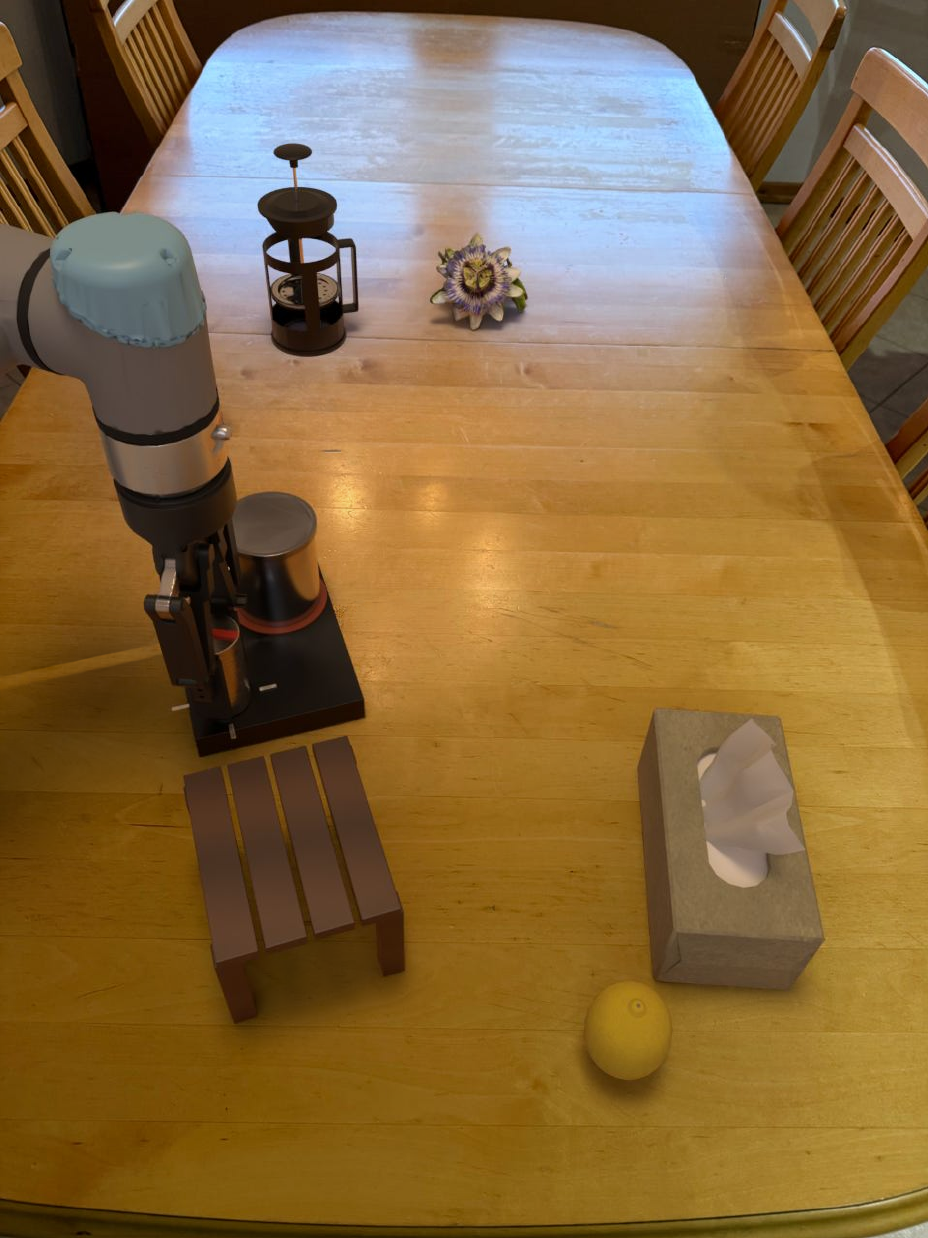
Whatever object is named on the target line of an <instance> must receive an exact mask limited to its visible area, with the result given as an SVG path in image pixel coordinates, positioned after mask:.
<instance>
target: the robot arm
mask: <svg viewBox="0 0 928 1238" xmlns="http://www.w3.org/2000/svg"><path fill="white" fill-rule="evenodd" d="M197 271H198V270H197V267H196V264H195V259H194V255H193V251H192V248H191V246H190V244H189V241H188V239H187V238H186V236H185V234H183V232H182V231H181V230H180V229H179V228H178V227H177V226H175V225H174V224H173V223H171V222H170V221H168V220H166V219H164V218H162V217H160V216H157V215H154V214H150V213H149V214H148V213H145V212H138V211H135V212H131V213H128V214H124V213H123V214H121V213H119V212H117V211H108V212H101V213H96V214H92V215H91V214H90V215H87V216H85V217H83V218H80V219H77V220H75V221H73V222H71V223H69V224H68V225H65V226H64V227H63V228H62V229H61V230H60V231H59V232H58V233H57V234H56V236H55V237H50V236H47V235H45V234H40V233H38V232H37V233H36V232H33V231H30V230H26V229H23V228H19V227H17V226H12V225H9V224H6V223H3V222H1V221H0V378H2V377H3V376H5V375H6V374H7V373H9V372H10V371H11V370H12V369H14V368H15V367H17V366H20V365H25V366H28V367H31V368H34V369H39V370H42V371H45V372H48V373H52V374H55V375H58V376H62V377H63V376H64V377H70V378H74V379H77V380H79V381H80V382H81V383H83V384H84V386H85V389H86V391H87V394H88V398H89V400H90V403H91V408H92V413H93V416H94V419H95V422H96V426H97V429H98V434H99V436H100V440H101V444H102V448H103V451H104V455H105V459H106V463H107V467H108V470H109V473H110V475H111V477H112V478H113V485H114V489H115V493H116V496H117V499H118V503H119V506H120V509H121V513H122V517H123V519H124V521H125V523H126V525H127V527H129V529H130V530H131V531H132V532H133V533H135V534H136V535H137V536H139V537H141V538H142V539H143V540H145V541H146V542H147V543H148V544H150V545H151V547H152V548H151V551H152V558H153V564H154V568H155V572H156V574H157V575H158V576H159V588H158V591H157V593H154V594H152V593H151V594H150V593H148V594H146V595H145V597H144V599H143V610H144V612H145V614H146V615H147V616H148V617H149V619H150V620H151V622H152V624H153V627H154V631H155V634H156V635H155V636H156V638H157V641H158V643H159V644H158V645H159V649H160V650H161V654H162V658H163V661H164V665H165V667H166V671H167V674H168V678H169V681H170V684H171V686H172V687H179V688H185V687H189V688H190V691H191V695H192V699H193V703H194V706H195V710H196V714H197V717H205V718H216V719H228V720H231V717H232V713H233V711H232V706H231V702H230V697H229V693H228V688H227V684H226V679H225V675H224V670H223V666H222V661H221V660H216V659H215V650H214V641H213V632H212V623H211V614H210V613H219V614H224V615H226V616H229V617H231V618H232V619H233V620H234V621H235V622H236V623H237V625H238V627H239V631H240V636H241V642H242V647H243V652H244V657H245V662H246V667H247V659H246V654H245V649H244V644H243V639H242V633H241V628H240V623H239V618H238V613H237V611H234V607H236V608H245V607H246V604H247V594H238V593H237V591H236V589H235V586H234V585H238V586H239V585H240V584H241V582H242V574H241V568H240V562H239V556H238V550H237V545H236V539H235V533H234V527H233V522H232V516H233V514H234V512H235V509H236V505H237V500H238V496H237V495H238V494H237V490H236V489H237V488H236V484H235V478H234V473H233V465H232V462H231V458H230V457H229V449H228V443H227V441H230V440H231V439H232V438H233V429H232V427H231V426H230V425H227V424H224V419H223V420H222V418H223V414H222V415H221V412H222V407H221V401H220V396H219V390H218V386H217V387H216V384H217V383H216V384H215V379H214V372H215V371H214V372H213V366H214V363H213V364H212V360H213V356H212V357H211V355H212V348H211V342H210V341H211V340H210V335H209V326H208V317H207V316H208V315H207V308H208V306H207V302H206V296H205V293H204V291H203V290H202V287H201V283H200V280H199V275H198V272H197ZM223 424H224V425H223ZM210 606H211V609H210Z"/></svg>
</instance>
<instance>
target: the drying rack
mask: <svg viewBox="0 0 928 1238" xmlns="http://www.w3.org/2000/svg"><path fill="white" fill-rule="evenodd" d="M307 747H308V746H306V745H301V746H298V747H294V748H290V749H289V748H288V749H285V750H282V751H277V752H273V753H270V754H269V758H270V763H271V767H272V772H273V776H274V780H275V783H276V784H275V785H276V787H277V790H278V795H279V800H280V804H281V808H282V811H283V816H284V820H285V824H286V829H287V833H288V836H289V837H288V838H289V840H290V844H291V848H292V852H293V853H292V854H293V857H294V861H295V865H296V869H297V873H298V878H299V881H300V885H301V890H302V893H303V898H304V902H305V906H306V910H307V914H308V918H309V922H310V926H311V930H312V934H313V938H314V940H315V941H319V940H323V939H326V938H329V937H333V936H337V935H340V934H343V933H347V932H350V931H354V930H355V929H356V921H355V916H354V913H353V909H352V905H351V901H350V898H349V894H348V892H347V888H346V885H345V881H344V877H343V873H342V869H341V866H340V863H339V859H338V855H337V853H336V852H337V851H336V848H335V844H334V841H333V838H332V834H331V830H330V827H329V822H328V819H327V816H326V812H325V809H324V806H323V801H322V798H321V794H320V790H319V786H318V783H317V780H316V776H315V772H314V769H313V765H312V762H311V758H310V755H309V751H308V748H307ZM311 748H312V749H311V750H312V753H313V758H314V761H315V764H316V767H317V771H318V775H319V778H320V782H321V786H322V790H323V793H324V797H325V801H326V804H327V807H328V811H329V815H330V818H331V822H332V825H333V828H334V833H335V836H336V840H337V843H338V846H339V850H340V853H341V857H342V860H343V864H344V868H345V871H346V875H347V879H348V882H349V885H350V889H351V893H352V896H353V900H354V903H355V906H356V911H357V914H358V918H359V921H360V925H361V927H363V928H364V927H367V926H370V925H373V924H374V925H375V940H376V955H377V960H378V964H379V967H380V970H381V971H380V972H381V974H382V977H383V978H387V977H389V976H392V975H395V974H399V973H402V972H405V971H406V963H405V962H406V958H405V957H406V955H405V952H406V951H405V949H406V947H405V910H404V907H403V904H402V901H401V897H400V895H399V892H398V890H397V889H396V885H395V883H394V880H393V876H392V873H391V870H390V867H389V863H388V860H387V857H386V854H385V851H384V848H383V845H382V841H381V838H380V835H379V832H378V828H377V825H376V821H375V818H374V816H373V813H372V810H371V807H370V803H369V799H368V797H367V793H366V790H365V787H364V784H363V780H362V777H361V775H360V772H359V769H358V762H357V757H356V755H355V752H354V749H353V746H352V745H351V742H350V740H349V736H348V735H343V736H338V737H334V738H331V739H327V740H321V741H317V742H314V743H312V744H311ZM226 769H227V773H228V777H229V782H230V787H231V791H232V795H233V802H234V806H235V807H234V808H235V812H236V815H237V816H236V817H237V821H238V825H239V830H240V836H241V839H242V844H243V849H244V854H245V858H246V863H247V868H248V873H249V878H250V883H251V887H252V892H253V896H254V902H255V906H256V907H255V908H256V911H257V916H258V921H259V925H260V930H261V935H262V936H261V937H262V940H263V945H264V949H265V953H266V955H267V956H269V955H272V954H276V953H279V952H283V951H286V950H289V949H294V948H296V947H300V946H303V945H306V944H309V937H308V932H307V928H306V924H305V920H304V916H303V911H302V907H301V903H300V900H299V896H298V892H297V887H296V883H295V879H294V874H293V871H292V865H291V862H290V857H289V853H288V850H287V846H286V842H285V837H284V832H283V828H282V824H281V820H280V815H279V813H278V808H277V804H276V799H275V796H274V792H273V787H272V783H271V780H270V775H269V771H268V767H267V761H266V758H265V756H264V755H260V756H257V757H254V758H253V757H252V758H249V759H244V760H240V761H237V762H236V761H235V762H233V763H229V764H228V763H227V765H226ZM182 778H183V783H184V786H183V787H182V789H183V794H184V801H185V806H186V809H187V812H188V817H189V818H190V825H191V831H192V836H193V842H194V848H195V853H196V860H197V866H198V872H199V878H200V882H201V883H200V884H201V887H202V894H203V900H204V906H205V911H206V916H207V917H206V918H207V923H208V928H209V935H210V940H211V944H210V945H209V947H210V953H211V959H212V964H213V969H214V972H215V975H216V977H217V980H218V983H219V985H220V988H221V991H222V994H223V997H224V1000H225V1002H226V1005H227V1008H228V1011H229V1013H230V1017H231V1019H232V1022H233V1024H237V1023H241V1022H243V1021H247V1020H249V1019H254V1018H256V1017H258V1011H257V1006H256V1002H255V1001H256V1000H255V995H254V992H253V990H252V985H251V983H250V979H249V975H248V972H247V969H246V966H245V963H246V962H249V961H253V960H256V959H260V958H261V952H260V949H259V943H258V938H257V933H256V928H255V924H254V919H253V915H252V910H251V909H252V908H251V905H250V899H249V895H248V894H249V893H248V889H247V885H246V880H245V875H244V869H243V866H242V860H241V855H240V850H239V846H238V840H237V836H236V831H235V826H234V821H233V815H232V811H231V807H230V801H229V798H228V792H227V787H226V782H225V777H224V772H223V769H222V766H220V765H219V766H216V767H211V768H209V769H204V770H203V769H202V770H199V771H195V772H191V773H187V774H183V776H182Z"/></svg>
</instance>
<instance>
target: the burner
mask: <svg viewBox="0 0 928 1238" xmlns="http://www.w3.org/2000/svg"><path fill="white" fill-rule="evenodd" d="M319 581H320V590H321V597H320V602H319V604H318V606H317V608H316V609H315V611H314V612H313V613H312V614H311V615H310V616H308V617H307V618H306V619H304V620H302V621H300V622H298V623H296V624H293V625H290V626H285V627H264V626H260V625H257V624H254V623H252V622H250V621H249V620H247V619H246V618H245V617H244V616H243V615H242V614H241V613H240V611H239V610H238V608H236V607H234V611H237V613H238V618H239V623H240V624H241V625H242V626H244V627H245V628H247V629H249V630H251V631H254V632H257V633H261V634H269V635H278V634H286V633H291V632H295V631H297V630H300V629H302V628H304V627H306V626H308V625H309V624H311V623H312V622H313V621H315V620H316V619H317V618H318V617H319V616H320V614H321V613H322V612H323V610H324V608H325V605H326V602H327V591H328V590H327V591H326V588H327V586H326V587H325V585H326V584H325V585H324V583H323V581H322V580H321V579H320V577H319Z"/></svg>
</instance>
